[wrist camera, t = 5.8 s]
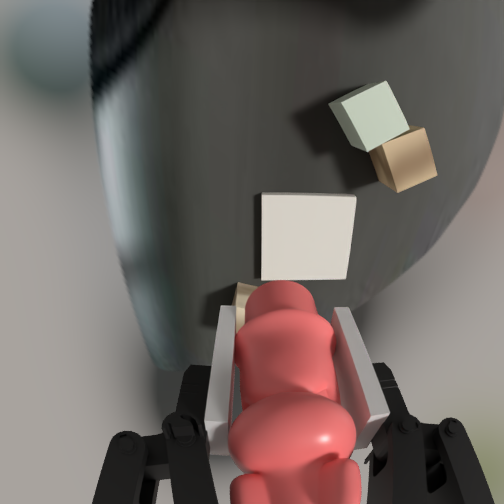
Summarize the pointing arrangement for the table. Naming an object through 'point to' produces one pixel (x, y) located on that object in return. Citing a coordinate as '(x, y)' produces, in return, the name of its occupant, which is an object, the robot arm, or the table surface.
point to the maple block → (241, 302)
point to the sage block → (369, 115)
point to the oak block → (404, 160)
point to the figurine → (290, 405)
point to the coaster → (306, 235)
